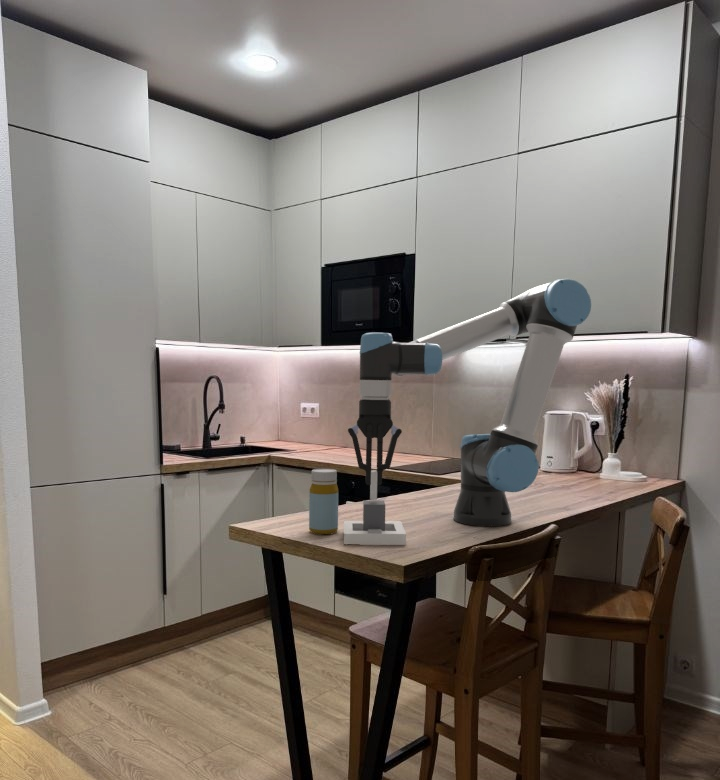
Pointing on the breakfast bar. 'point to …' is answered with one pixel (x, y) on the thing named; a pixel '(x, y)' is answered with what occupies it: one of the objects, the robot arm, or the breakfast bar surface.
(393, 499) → the breakfast bar surface
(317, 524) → the bottle
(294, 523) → the breakfast bar surface
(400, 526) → the socket plate
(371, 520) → the plug
